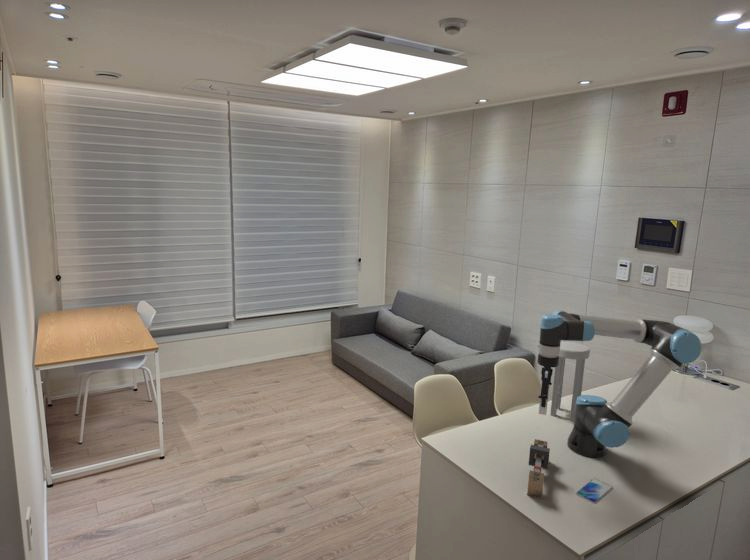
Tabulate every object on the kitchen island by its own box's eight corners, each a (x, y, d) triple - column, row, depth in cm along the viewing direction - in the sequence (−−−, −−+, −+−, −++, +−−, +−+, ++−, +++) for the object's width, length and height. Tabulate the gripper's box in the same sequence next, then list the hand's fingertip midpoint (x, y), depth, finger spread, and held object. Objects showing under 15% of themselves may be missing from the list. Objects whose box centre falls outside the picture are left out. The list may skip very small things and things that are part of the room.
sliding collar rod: (545, 459, 194) (547, 441, 193) (541, 498, 169) (544, 477, 168) (533, 457, 196) (534, 438, 195) (527, 495, 171) (529, 473, 169)
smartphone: (613, 487, 177) (595, 503, 167) (613, 489, 177) (594, 505, 167) (594, 477, 182) (575, 492, 172) (593, 479, 182) (574, 494, 172)
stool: (584, 412, 238) (592, 345, 232) (578, 424, 226) (586, 353, 219) (552, 404, 247) (558, 339, 240) (544, 415, 234) (551, 347, 227)
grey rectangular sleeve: (548, 465, 184) (549, 448, 183) (547, 469, 181) (549, 452, 180) (529, 460, 187) (530, 444, 185) (528, 464, 184) (530, 448, 183)
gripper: (540, 344, 195) (536, 393, 199) (535, 363, 173) (530, 418, 177) (560, 347, 192) (555, 396, 196) (557, 366, 170) (552, 422, 174)
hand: (543, 407), depth 186 cm, fingers open, 12 cm apart
